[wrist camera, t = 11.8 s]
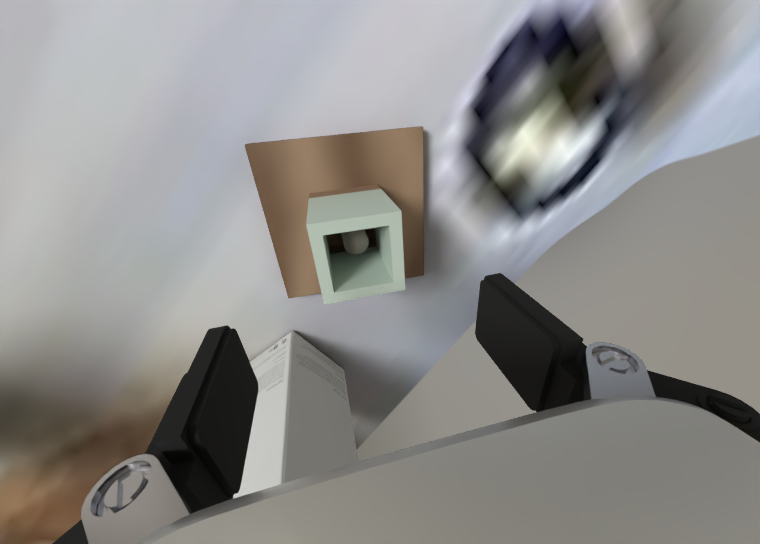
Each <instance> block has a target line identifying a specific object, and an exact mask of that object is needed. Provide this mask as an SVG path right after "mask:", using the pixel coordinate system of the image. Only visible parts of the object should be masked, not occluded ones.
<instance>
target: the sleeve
mask: <svg viewBox="0 0 760 544" xmlns="http://www.w3.org/2000/svg"><path fill="white" fill-rule="evenodd" d="M306 226H307V231H308V235H309V240H310V244H311V249H312V253H313V258H314V262H315V267H316V271H317V275H318V280H319V284H320V289H321V293H322V298H323V302H324V305H325V304H330V303H336V302H341V301H347V300H352V299H358V298H363V297H369V296H374V295H380V294H385V293H391V292H396V291H402V290H405V273H404V253H403V233H402V213H401V210H400V209H399V208H398V207H397V206H396V205H395V203H394V202H393V201H392V200H391V199H390V198H389V197H388V196H387V195H386V194H385V192H384V191H383V190H382V189H381V188H380V187H379V186H378V185H377V184H376V185H369V186H361V187H354V188H346V189H338V190H331V191H323V192H316V193H309V201H308V211H307V221H306ZM369 228H372V230H373V239H372V240H368V241H369V244H368V247H367V249H366V250H365V251H364V252H363V253H361V254H351V253H349V252H347V251H346V249H345V247H344V244H340V245H334V246H329V242H328V237H327V235H329V234H336V233H343V232H349V231H356V230H362V229H369Z"/></svg>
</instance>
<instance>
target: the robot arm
mask: <svg viewBox="0 0 760 544" xmlns="http://www.w3.org/2000/svg"><path fill="white" fill-rule="evenodd" d="M475 334H476V338H477V340H478V341H479V343H480V344H481V345H482V347H483V348H484V349H485V350H486V352H487V353H488V354H489V356H490V357H491V358H492V360H493V361H494V362H495V364H496V365H497V366H498V367H499V369H500V370H501V371H502V373H503V374H504V375H505V377H506V378H507V379H508V381H509V382H510V383H511V384H512V386H513V387H514V388H515V390H516V391H517V392H518V393H519V395H520V396H521V398H522V399H523V400H524V401H525V403H526V404H527V405H528V407H529V408H530V409H532V410H534V411H535V410H536V412H537V413H533V414H529V415H525V416H522V417H518V418H514V419H511V420H507V421H504V422H500V423H496V424H493V425H489V426H486V427H482V428H478V429H474V430H471V431H467V432H464V433H460V434H456V435H453V436H449V437H445V438H442V439H439V440H435V441H431V442H427V443H424V444H420V445H417V446H413V447H409V448H406V449H402V450H399V451H395V452H392V453H388V454H385V455H381V456H378V457H374V458H370V459H367V460H363V461H360V462H356V463H353V464H349V465H346V466H342V467H339V468H335V469H332V470H328V471H325V472H321V473H318V474H314V475H311V476H307V477H304V478H300V479H297V480H293V481H290V482H286V483H283V484H280V485H276V486H273V487H270V488H266V489H263V490H260V491H257V492H253V493H250V494H247V495H243V496H240V497H237V498H233V496H234V494H236V493H238V492H239V490H240V487H241V482H242V476H243V471H244V465H245V460H246V455H247V449H248V444H249V438H250V433H251V428H252V422H253V417H254V412H255V406H256V401H257V395H258V381H257V378H256V376H255V374H254V371H253V369H252V367H251V364H250V362H249V359H248V357H247V355H246V352H245V350H244V348H243V345H242V343H241V341H240V338H239V336H238V333H237V331H236V330H235V329H230V327H229V326H222V327H217V328H212V329H209V330H208V331H207V333H206V335H205V337H204V340H203V342H202V344H201V346H200V348H199V350H198V352H197V354H196V356H195V358H194V360H193V363H192V365H191V367H190V369H189V371H188V373H186V374H185V375H184V376H183V378H182V380H181V382H180V384H179V386H178V388H177V390H176V392H175V394H174V396H173V398H172V400H171V402H170V404H169V406H168V408H167V410H166V412H165V414H164V416H163V419H162V421H161V423H160V425H159V427H158V429H157V431H156V433H155V435H154V437H153V439H152V441H151V443H150V445H149V447H148V449H147V451H146V453H145V454H142V455H136V456H134V457H132V458H129V459H127V460H125V461H123V462H122V463H120V464H118V465H117V466H115V467H114V468H112V469H111V470H110V471H109V472H108V473H106V474H105V475H104V476H103V477H102V478H101V479H100V480H99V481H98V482H97V483H96V485H95V486H94V487H93V488H92V490H91V491H90V493H89V494H88V496H87V497H86V499H85V501H84V504H83V507H82V509H81V519H82V520H80V521H79V522H78V523H77V524H76V525H74V526H73V527H72V528H71V529H70V530H68V531H67V532H66V533H65V534H64V535H62V536H61V537H60V538H59V539H58V540H56V541H55V542H54V543H53V544H760V414H759V413H758V412H757V411H756V410H754V409H753V408H752V407H751V406H749V405H747V404H746V403H744V402H743V401H741V400H739V399H737V398H735V397H733V396H731V395H728V394H726V393H723V392H720V391H717V390H714V389H710V388H706V387H703V386H699V385H696V384H693V383H689V382H686V381H682V380H679V379H676V378H672V377H668V376H665V375H662V374H658V373H654V372H651V371H648V370H647V369H646V366H645V365H644V363H643V361H642V360H641V359H640V358H639V357H638V356H637V355H635V354H634V353H632V352H631V351H629V350H628V349H625V348H623V347H621V346H618V345H615V344H612V343H605V342H595V343H593V344H590V345H589V346H588V347H587V346H585V345H584V344H583V343H582V341H583V338H582V337H580V336H579V335H578V334H577V333H575V332H574V331H573V330H571V329H570V328H569V327H568V326H566V325H565V324H564V323H563V322H562V321H560V320H559V319H558V318H557V317H555V316H554V315H553V314H552V313H550V312H549V311H548V310H546V309H545V308H544V307H543V306H541V305H540V304H539V303H538V302H537V301H535V300H534V299H533V298H531V297H530V296H529V295H528V294H526V293H525V292H524V291H523V290H521V289H520V288H519V287H518V286H516V285H515V284H514V283H513V282H511V281H510V280H509V279H508V278H506V277H505V276H504V275H503V274H501V273H498V274H493V275H488V276H485V278H484V280H482V281H481V284H480V293H479V302H478V311H477V320H476V331H475Z"/></svg>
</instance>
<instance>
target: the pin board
mask: <svg viewBox="0 0 760 544" xmlns="http://www.w3.org/2000/svg"><path fill="white" fill-rule="evenodd" d="M245 148H246V152H247V155H248V159H249V162H250V166H251V169H252V173H253V176H254V180H255V183H256V187H257V190H258V194H259V197H260V200H261V204H262V207H263V211H264V214H265V218H266V221H267V225H268V228H269V232H270V235H271V239H272V242H273V246H274V249H275V253H276V256H277V260H278V263H279V267H280V270H281V274H282V277H283V281H284V284H285V287H286V291H287V294H288V298H294V297H299V296H305V295H311V294H317V293H321V289H320V284H319V280H318V275H317V271H316V267H315V262H314V258H313V253H312V249H311V244H310V240H309V235H308V231H307V226H306V221H307V211H308V201H309V193H316V192H323V191H331V190H338V189H346V188H354V187H361V186H369V185H376V184H377V185H378V186H379V187H380V188H381V189H382V190H383V191H384V192H385V194H386V195H387V196H388V197H389V198H390V199H391V200H392V201H393V202H394V203H395V205H396V206H397V207H398V208H399V209H400V210H401V213H402V233H403V253H404V273H405V278H410V277H416V276H422V275H424V216H423V127H410V128H400V129H390V130H380V131H370V132H360V133H350V134H340V135H330V136H320V137H310V138H300V139H290V140H280V141H270V142H260V143H250V144H246V145H245ZM327 237H328V242H329V246H334V245H340V244H344V247H345V249H346V251H347V252H349V253H351V254H361V253H363V252H364V251H365V250H366V249H367V247H368V244H369V241H368V240H372V239H373V230H372V228H369V229H362V230H356V231H349V232H343V233H336V234H329V235H327Z"/></svg>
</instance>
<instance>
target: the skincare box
mask: <svg viewBox="0 0 760 544" xmlns="http://www.w3.org/2000/svg"><path fill="white" fill-rule="evenodd" d="M250 364H251V367H252V369H253V371H254V374H255V376H256V378H257V381H258V395H257V401H256V406H255V412H254V417H253V422H252V428H251V433H250V438H249V444H248V449H247V455H246V460H245V465H244V471H243V476H242V482H241V487H240V490H239V492H238V493H236V494H234V496H233V498H237V497H240V496H243V495H247V494H250V493H253V492H257V491H260V490H263V489H266V488H270V487H273V486H276V485H280V484H283V483H286V482H290V481H293V480H297V479H300V478H304V477H307V476H311V475H314V474H318V473H321V472H325V471H328V470H332V469H335V468H339V467H342V466H346V465H349V464H353V463H356V462H358V458H357V452H356V445H355V438H354V432H353V425H352V419H351V412H350V406H349V399H348V392H347V385H346V379H345V371H344V369H342V368H341V367H340V366H338V365H337V364H336V363H335V362H333V361H332V360H331V359H329V358H328V357H327V356H325V355H324V354H323V353H322V352H320V351H319V350H318V349H316V348H315V347H314V346H312V345H311V344H310V343H309V342H307V341H306V340H305V339H303V338H302V337H301V336H299V335H298V334H297V333H295V332H294V331H292V332H290V333H289V334H287V335H286V336H284V337H283V338H282V339H280V340H279V341H278V342H276V343H275V344H274V345H272V346H271V347H270V348H268V349H267V350H265V351H264V352H263V353H262V354H260V355H259V356H258V357H256V358H255V359H253V360H252V361H251V362H250Z"/></svg>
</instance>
